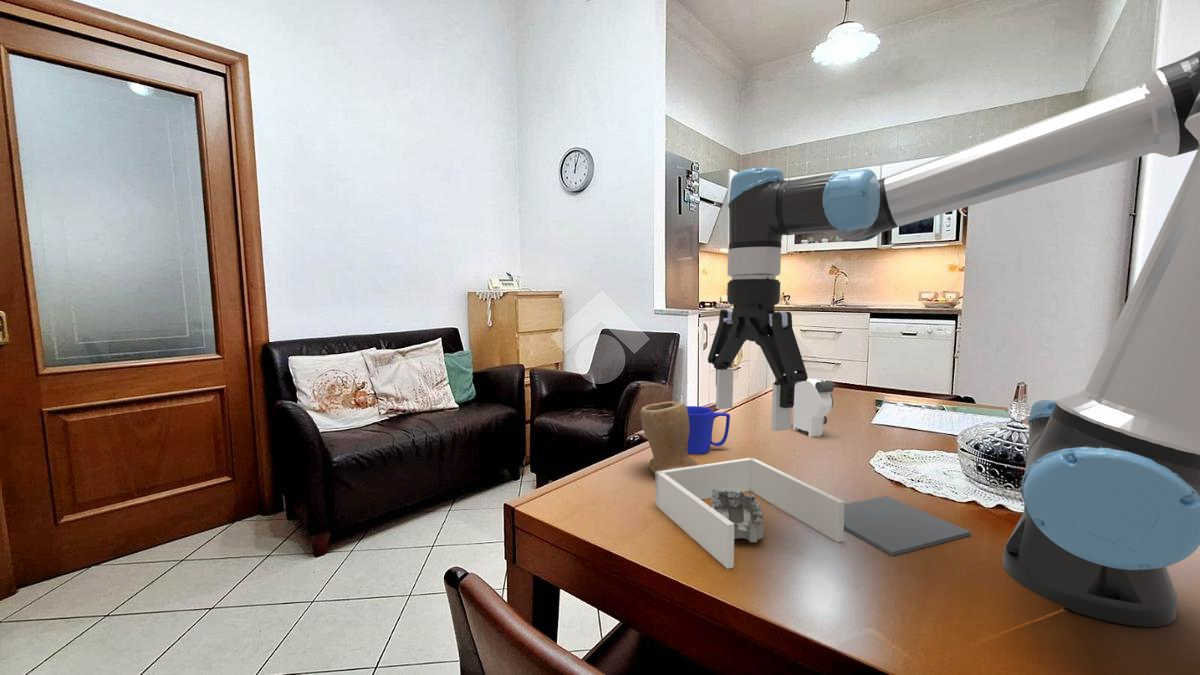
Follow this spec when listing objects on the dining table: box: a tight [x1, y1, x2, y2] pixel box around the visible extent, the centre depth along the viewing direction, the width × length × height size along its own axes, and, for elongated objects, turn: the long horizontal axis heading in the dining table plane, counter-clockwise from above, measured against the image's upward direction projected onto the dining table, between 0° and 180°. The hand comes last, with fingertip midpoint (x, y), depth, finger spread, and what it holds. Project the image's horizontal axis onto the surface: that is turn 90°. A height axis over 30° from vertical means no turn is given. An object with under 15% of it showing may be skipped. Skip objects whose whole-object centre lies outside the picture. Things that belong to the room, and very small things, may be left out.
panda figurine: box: [792, 378, 835, 438], centre depth 123 cm, size 12×11×15 cm
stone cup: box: [640, 400, 700, 476], centre depth 96 cm, size 15×12×15 cm
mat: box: [844, 495, 972, 557], centre depth 76 cm, size 14×16×1 cm
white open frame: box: [654, 456, 845, 570], centre depth 77 cm, size 21×20×6 cm
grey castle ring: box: [710, 489, 765, 543], centre depth 75 cm, size 11×8×4 cm
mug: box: [685, 405, 731, 455], centre depth 111 cm, size 8×12×10 cm
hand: (750, 418), depth 74 cm, fingers open, 13 cm apart
